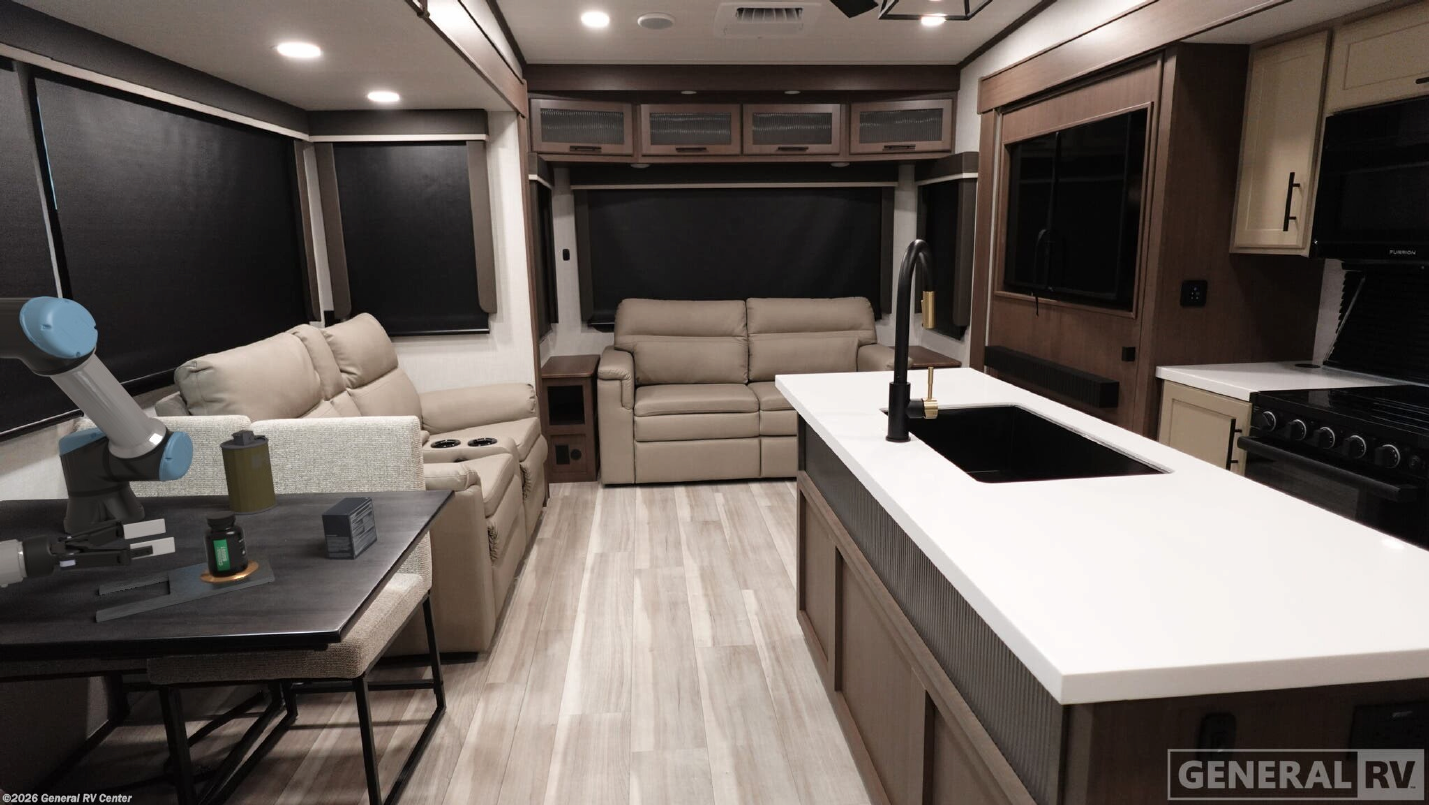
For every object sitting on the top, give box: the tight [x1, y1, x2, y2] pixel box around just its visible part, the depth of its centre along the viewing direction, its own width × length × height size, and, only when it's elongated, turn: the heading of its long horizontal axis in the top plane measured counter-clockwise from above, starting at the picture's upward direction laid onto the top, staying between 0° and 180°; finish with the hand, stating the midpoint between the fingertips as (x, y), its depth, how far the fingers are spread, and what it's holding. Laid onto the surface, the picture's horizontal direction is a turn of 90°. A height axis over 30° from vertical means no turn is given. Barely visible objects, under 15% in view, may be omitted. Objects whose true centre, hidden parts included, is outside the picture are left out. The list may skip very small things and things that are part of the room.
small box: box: [321, 496, 378, 560], centre depth 167 cm, size 11×6×10 cm, turn 178°
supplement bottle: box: [202, 510, 249, 577], centre depth 153 cm, size 7×7×12 cm
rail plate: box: [95, 550, 276, 623], centre depth 151 cm, size 28×16×1 cm, turn 126°
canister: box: [219, 429, 278, 516], centre depth 191 cm, size 11×10×20 cm
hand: (169, 534), depth 149 cm, fingers open, 13 cm apart
